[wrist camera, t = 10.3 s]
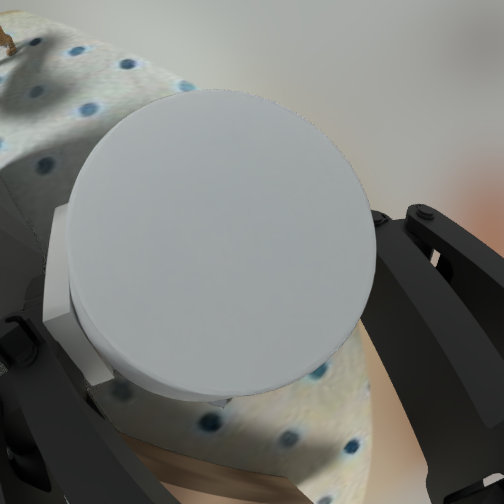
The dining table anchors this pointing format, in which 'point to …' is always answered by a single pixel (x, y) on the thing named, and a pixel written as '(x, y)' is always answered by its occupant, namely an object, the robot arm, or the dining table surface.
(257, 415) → the dining table surface
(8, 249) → the alarm clock
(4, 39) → the lion figurine
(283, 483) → the walnut rail
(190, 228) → the supplement bottle
